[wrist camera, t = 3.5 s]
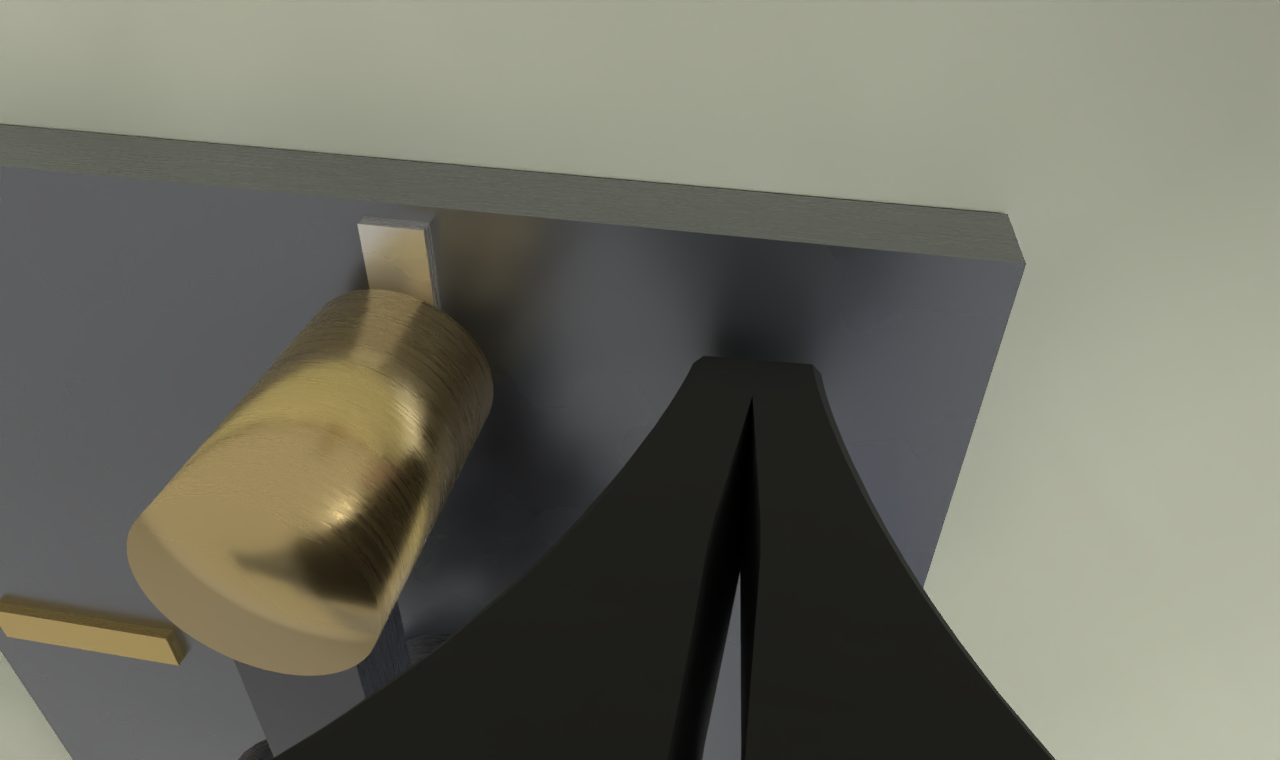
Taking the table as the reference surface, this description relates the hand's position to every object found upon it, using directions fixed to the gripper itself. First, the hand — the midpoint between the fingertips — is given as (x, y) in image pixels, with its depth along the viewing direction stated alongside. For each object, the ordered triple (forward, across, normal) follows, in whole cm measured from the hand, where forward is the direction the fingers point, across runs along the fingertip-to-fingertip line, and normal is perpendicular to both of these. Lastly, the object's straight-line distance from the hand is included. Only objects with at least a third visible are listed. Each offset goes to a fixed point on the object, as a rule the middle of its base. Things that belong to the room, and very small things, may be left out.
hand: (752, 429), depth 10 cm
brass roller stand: (0, +5, +4) cm, 6 cm away
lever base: (+2, +6, +6) cm, 9 cm away
